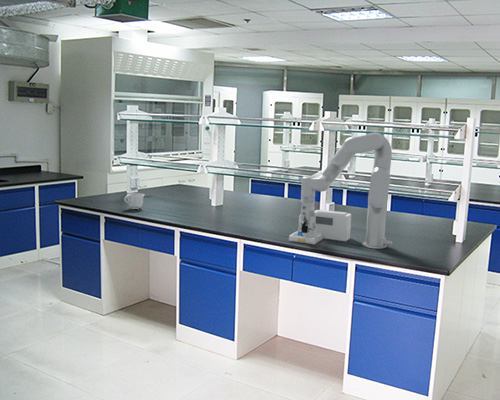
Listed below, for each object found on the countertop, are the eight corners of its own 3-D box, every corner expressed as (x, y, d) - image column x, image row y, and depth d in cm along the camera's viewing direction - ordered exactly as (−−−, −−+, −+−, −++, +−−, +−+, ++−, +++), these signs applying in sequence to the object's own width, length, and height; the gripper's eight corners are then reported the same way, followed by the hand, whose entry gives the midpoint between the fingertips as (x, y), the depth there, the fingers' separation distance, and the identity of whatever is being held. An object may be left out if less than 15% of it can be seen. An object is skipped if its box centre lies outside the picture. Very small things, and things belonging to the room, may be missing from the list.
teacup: (119, 209, 358) (119, 194, 356) (137, 206, 368) (137, 192, 367) (130, 211, 350) (129, 197, 348) (148, 209, 360) (148, 194, 359)
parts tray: (322, 239, 289) (322, 233, 289) (314, 244, 277) (314, 239, 277) (297, 235, 296) (298, 230, 295) (288, 241, 283) (288, 235, 283)
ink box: (297, 235, 287) (298, 214, 285) (303, 234, 291) (304, 213, 289) (309, 238, 281) (310, 217, 279) (315, 237, 285) (316, 216, 283)
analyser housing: (350, 238, 293) (351, 212, 291) (345, 241, 285) (347, 215, 283) (316, 233, 302) (317, 208, 299) (311, 236, 294) (312, 211, 292)
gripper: (308, 202, 273) (307, 235, 276) (319, 197, 288) (318, 229, 292) (295, 200, 276) (294, 233, 280) (306, 196, 292) (305, 227, 295)
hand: (306, 231), depth 286 cm, fingers closed on ink box, 6 cm apart
